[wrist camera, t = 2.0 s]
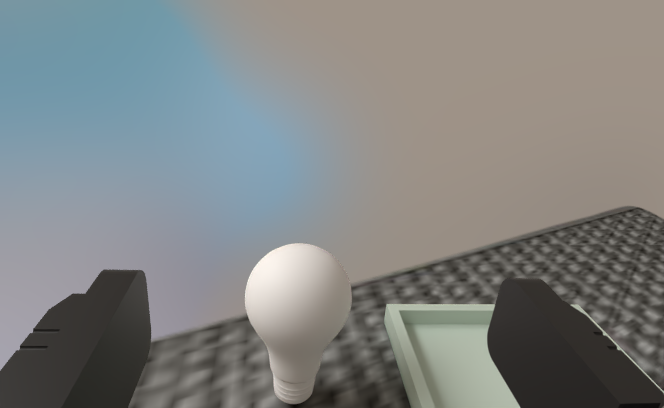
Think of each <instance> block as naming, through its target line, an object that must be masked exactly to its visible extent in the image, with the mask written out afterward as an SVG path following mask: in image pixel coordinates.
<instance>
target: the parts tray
mask: <svg viewBox="0 0 664 408" xmlns="http://www.w3.org/2000/svg"><path fill="white" fill-rule="evenodd" d="M571 306H573V307H574V308H576V309H577V310H579V311H580V312H582V313H584V314H585V315H587V316H588V317H589V318H590V320H591V321H592V322H593V323H594V324H595V325H596V326H597V327H598V328H599V329H600V330H601V331H602V332H603V335H606V336H607V337H608V338H609V339H610V340H611V341H612V342H613V343H614V344H615V345H616V346H617V349H618V350H621V351H622V352H623V353H624V354H625V355H626V356H627V357H628V358H629V359H630V360H631V361H632V362H633V363H634V364H635V365H636V366H637V367H638V368H639V369H640V370H641V371H642V372H643V373H644V374H645V375H646V376H647V377H648V378H649V379H650V380H651V381H652V382H653V383H654V384H655V385H656V386H657V387H658V388H659V389H660V390H661V391H662V392H663V393H664V391H663V390H662V389H661V388H660V387H659V386H658V385H657V384H656V383H655V382H654V381H653V380H652V379H651V378H650V377H649V376H648V375H647V374H646V373H645V372H644V371H643V370H642V369H641V368H640V367H639V366H638V365H637V364H636V363H635V362H634V361H633V360H632V359H631V358H630V357H629V356H628V355H627V354H626V353H625V352H624V351H623V350H622V349H621V348H620V347H619V346H618V345H617V344H616V343H615V342H614V341H613V340H612V339H611V338H610V337H609V336H608V335H607V334H606V333H605V332H604V331H603V330H602V329H601V328H600V326H599V325H598V324H597V323H596V322H595V321H594V320H593V319H592V318H591V317H590V316H589V315H588V314H587V313H586V312H585V311H584V310H583V309H582V308H581V307H580V306H579V305H571ZM494 307H495V304H387V306H386V312H385V318H384V324H385V327H386V330H387V333H388V336H389V340H390V343H391V346H392V349H393V352H394V356H395V359H396V362H397V365H398V368H399V372H400V375H401V378H402V381H403V384H404V388H405V391H406V394H407V397H408V400H409V404H410V407H411V408H520V406H519V404H518V403H517V401H516V399H515V398H514V396H513V394H512V393H511V391H510V389H509V388H508V386H507V384H506V382H505V381H504V379H503V377H502V376H501V374H500V372H499V371H498V369H497V367H496V366H495V364H494V362H493V361H492V359H491V357H490V354H489V351H488V345H487V333H488V328H489V325H490V321H491V318H492V314H493V311H494Z"/></svg>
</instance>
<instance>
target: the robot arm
mask: <svg viewBox="0 0 664 408" xmlns="http://www.w3.org/2000/svg"><path fill="white" fill-rule="evenodd" d="M150 343H151V324H150V314H149V303H148V293H147V283H146V277H145V273H144V272H143V271H142V270H103V271H102V272H101V273H100V274H99V275H98V277H97V278H96V280H95V281H94V282H93V284H92V285H91V287H90V288H89V289H88V291H87V292H86V294H72V295H70V296H69V297H67V298H66V299H64V300H63V301H61V302H60V303H58V304H57V305H55V306H54V307H52V308H51V309H49V310H48V311H47V313H46V314H45V315H44V317H43V318H42V319H41V320H40V322H39V323H38V324H37V325H36V327H35V328H34V329H33V333H30V334H29V335H28V337H27V338H26V339H25V341H24V342H23V343H22V344H21V345H20V350H19V351H18V350H17V351H16V352H15V353H14V354H13V356H12V357H11V358H10V359H9V361H8V362H7V363H6V364H5V366H4V367H3V368H2V369H1V371H0V408H128V406H129V403H130V401H131V398H132V396H133V393H134V391H135V388H136V386H137V383H138V381H139V378H140V376H141V373H142V371H143V368H144V366H145V363H146V360H147V357H148V354H149V349H150ZM487 345H488V351H489V354H490V357H491V359H492V361H493V362H494V364H495V366H496V367H497V369H498V371H499V372H500V374H501V376H502V377H503V379H504V381H505V382H506V384H507V386H508V388H509V389H510V391H511V393H512V394H513V396H514V398H515V399H516V401H517V403H518V404H519V406H520V408H664V393H663V392H662V391H661V390H660V389H659V388H658V387H657V386H656V385H655V384H654V383H653V382H652V381H651V380H650V379H649V378H648V377H647V376H646V375H645V374H644V373H643V372H642V371H641V370H640V369H639V368H638V367H637V366H636V365H635V364H634V363H633V362H632V361H631V360H630V359H629V358H628V357H627V356H626V355H625V354H624V353H623V352H622V351H621V350H618V349H617V346H616V345H615V344H614V343H613V342H612V341H611V340H610V339H609V338H608V337H607V336H606V335H603V332H602V331H601V330H600V329H599V328H598V327H597V326H596V325H595V324H594V323H593V322H592V321H591V320H590V318H589V317H588V316H587V315H585V314H584V313H582V312H580V311H579V310H577V309H576V308H574V307H573V306H571V305H569V304H568V303H566V302H565V301H562V299H561V298H560V297H559V296H558V295H557V294H556V293H555V292H554V291H553V290H552V289H551V288H550V287H549V286H548V285H547V284H546V283H545V282H544V281H543V280H541V279H524V278H507V279H505V280H504V281H503V282H502V284H501V287H500V290H499V293H498V297H497V300H496V304H495V307H494V311H493V314H492V318H491V321H490V325H489V328H488V333H487Z"/></svg>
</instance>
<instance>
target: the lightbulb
mask: <svg viewBox="0 0 664 408" xmlns="http://www.w3.org/2000/svg"><path fill="white" fill-rule="evenodd" d="M351 302H352V294H351V285H350V282H349V278H348V276H347V273H346V271H345V270H344V268H343V267H342V265H341V264H340V263H339V261H338V260H337V259H336V258H335V257H334V256H333V255H331V254H330V253H329V252H327V251H325V250H323V249H321V248H319V247H316V246H314V245H309V244H289V245H285V246H282V247H279V248H277V249H274V250H273V251H271V252H269V253H268V254H267V255H266V256H265V257H263V259H261V260H260V261H259V263H258V264H257V265H256V266H255V268H254V269H253V271H252V272H251V275H250V277H249V279H248V283H247V287H246V291H245V307H246V311H247V314H248V318H249V320H250V323H251V324H252V326H253V328H254V329H255V331H256V332H257V334H258V335H259V336H260V338H261V339H262V340H263V342H264V343H265V344H266V346H267V349H268V352H269V357H270V367H271V370H272V372H273V375H274V390H275V394H276V396H277V397H278V398H279V399H280V400H282V401H283V402H285V403H288V404H299V403H302V402H304V401H306V400H307V399H308V398H309V397H310V396H311V394H312V392H313V387H314V383H315V375H316V374H317V372H318V370H319V368H320V363H321V358H322V355H323V352H324V350H325V348H326V346H327V345H328V344H329V343H330V342H331V341H332V340H333V339H334V338H335V337H336V335H337V334H338V333H339V331H340V330H341V329H342V328H343V326H344V324H345V322H346V320H347V318H348V315H349V313H350V309H351Z"/></svg>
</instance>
